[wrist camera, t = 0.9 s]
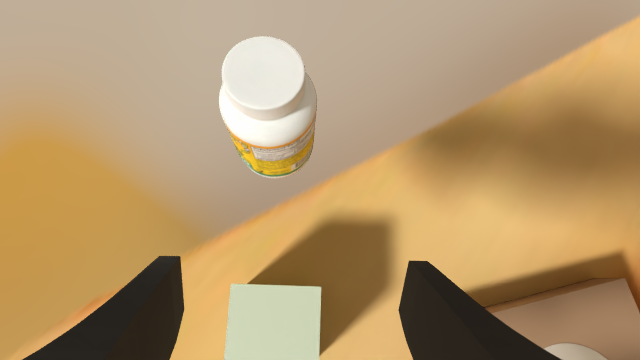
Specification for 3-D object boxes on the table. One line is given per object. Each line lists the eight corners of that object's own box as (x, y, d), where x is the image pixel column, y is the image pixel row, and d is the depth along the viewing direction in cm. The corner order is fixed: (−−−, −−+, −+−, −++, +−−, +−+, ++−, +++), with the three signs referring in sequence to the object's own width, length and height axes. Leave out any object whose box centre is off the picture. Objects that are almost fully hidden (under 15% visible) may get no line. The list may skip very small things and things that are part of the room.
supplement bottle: (316, 176, 27) (325, 120, 18) (239, 183, 26) (207, 128, 17) (309, 107, 28) (314, 20, 19) (236, 112, 28) (205, 26, 19)
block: (313, 361, 24) (318, 385, 18) (240, 359, 24) (221, 383, 18) (316, 286, 25) (321, 286, 19) (246, 283, 25) (231, 283, 19)
